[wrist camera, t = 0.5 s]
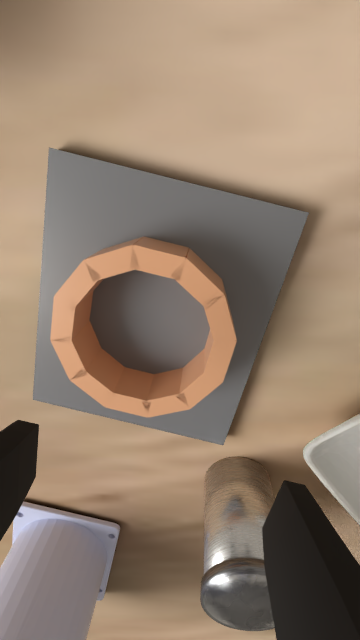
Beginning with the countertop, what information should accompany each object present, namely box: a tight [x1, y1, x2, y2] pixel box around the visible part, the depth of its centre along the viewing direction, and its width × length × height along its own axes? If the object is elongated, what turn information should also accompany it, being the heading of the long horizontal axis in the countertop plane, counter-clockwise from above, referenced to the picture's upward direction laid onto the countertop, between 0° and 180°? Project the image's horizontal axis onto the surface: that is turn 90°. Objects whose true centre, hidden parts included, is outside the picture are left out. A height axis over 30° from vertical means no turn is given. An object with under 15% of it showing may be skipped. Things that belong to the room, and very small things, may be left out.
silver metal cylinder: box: [201, 457, 275, 631], centre depth 19 cm, size 5×5×7 cm
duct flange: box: [33, 148, 309, 445], centre depth 16 cm, size 14×12×3 cm
